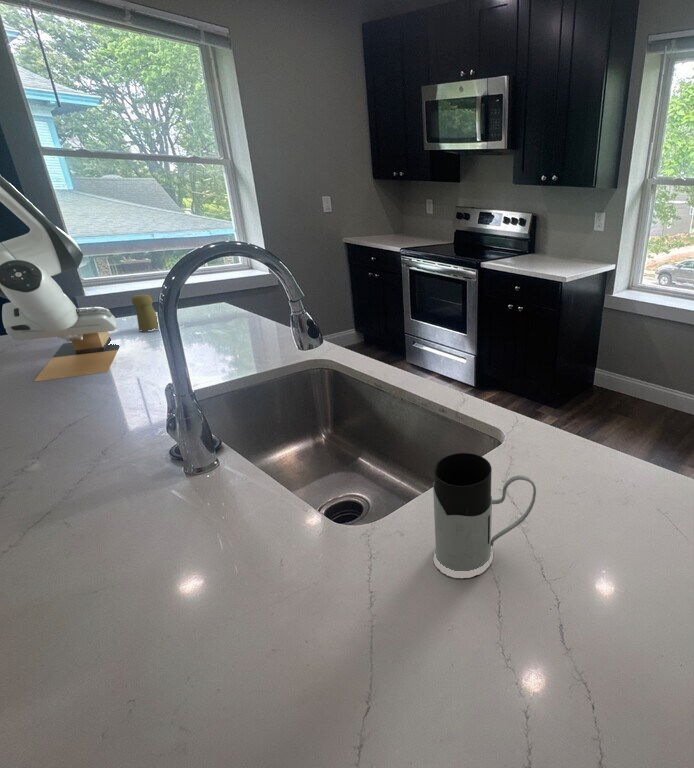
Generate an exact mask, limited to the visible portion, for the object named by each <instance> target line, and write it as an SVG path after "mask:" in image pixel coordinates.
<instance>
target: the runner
mask: <svg viewBox="0 0 694 768" xmlns="http://www.w3.org/2000/svg"><path fill="white" fill-rule="evenodd" d="M120 348H121V345H120V346H119V345H116V344H115V345H114V344H113V345H112V344H110V345H108V346H107V348H106V349H105V351H100V352H92V353H83V354H76V352H75V349H74V346H73V344H72V342H65V343H62V344H61V345H60V347H59V348H58V349H57V351H56V352H55V354H53V356H52V357H51V359H50V360H49V361H48V362H47V363H46V365H44V367H43V369H42V370H41V371H40V372H39V374H38V375H37V376H36V377H35V378H34V380H33V381H32V382H33V383H35V382H42V381H43V382H45V381H52V380H57V379H59V380H60V379H67V378H73V377H80V376H88V375H96V374H102V373H103V374H104V373H108V372H109V370H110V368H111V366H112V364H113V363H114V360H115V359H116V356H117V353H118V351H119V349H120Z"/></svg>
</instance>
